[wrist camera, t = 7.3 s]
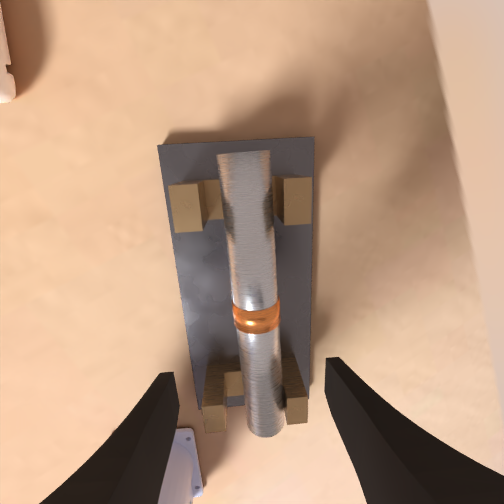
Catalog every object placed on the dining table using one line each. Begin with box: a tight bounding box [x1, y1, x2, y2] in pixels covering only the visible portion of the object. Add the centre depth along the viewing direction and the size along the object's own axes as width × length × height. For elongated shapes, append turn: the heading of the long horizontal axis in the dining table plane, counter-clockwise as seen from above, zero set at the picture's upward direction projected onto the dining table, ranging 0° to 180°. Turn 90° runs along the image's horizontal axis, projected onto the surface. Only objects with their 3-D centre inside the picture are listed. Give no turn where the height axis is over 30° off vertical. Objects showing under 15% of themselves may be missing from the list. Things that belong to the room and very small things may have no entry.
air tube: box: [216, 150, 284, 437], centre depth 18 cm, size 20×3×3 cm, turn 5°
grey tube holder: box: [157, 137, 314, 433], centre depth 19 cm, size 22×10×5 cm, turn 3°
